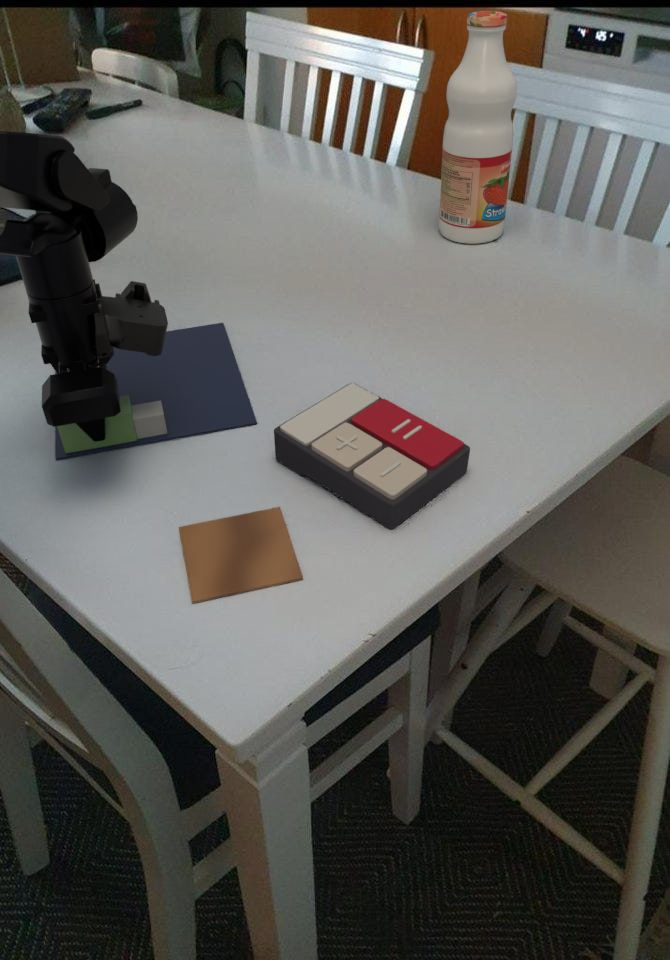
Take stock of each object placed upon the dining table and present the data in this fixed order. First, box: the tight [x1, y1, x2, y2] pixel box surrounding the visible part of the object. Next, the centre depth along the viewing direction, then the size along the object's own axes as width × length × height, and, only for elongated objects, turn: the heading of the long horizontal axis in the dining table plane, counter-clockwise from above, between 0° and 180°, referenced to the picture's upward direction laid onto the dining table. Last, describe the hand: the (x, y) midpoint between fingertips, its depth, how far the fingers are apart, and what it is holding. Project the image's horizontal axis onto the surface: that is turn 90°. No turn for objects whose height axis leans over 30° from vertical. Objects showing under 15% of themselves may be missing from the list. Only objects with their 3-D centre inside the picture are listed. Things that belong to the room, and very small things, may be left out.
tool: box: [57, 395, 167, 454], centre depth 80 cm, size 10×3×4 cm, turn 105°
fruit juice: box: [438, 10, 518, 245], centre depth 109 cm, size 9×9×28 cm
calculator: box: [273, 382, 471, 530], centre depth 75 cm, size 11×4×15 cm
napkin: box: [54, 322, 258, 461], centre depth 89 cm, size 20×22×1 cm
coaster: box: [178, 506, 304, 604], centre depth 68 cm, size 9×9×1 cm
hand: (99, 430), depth 80 cm, fingers closed on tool, 3 cm apart
